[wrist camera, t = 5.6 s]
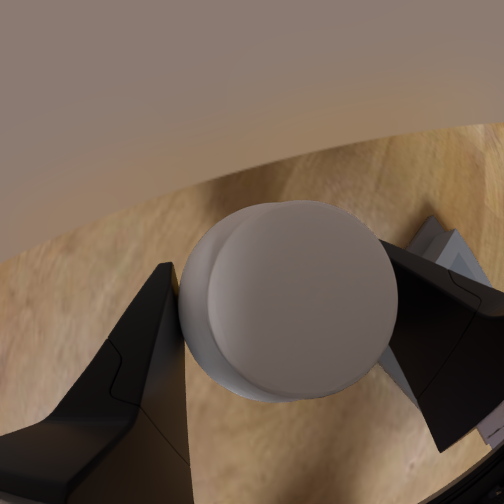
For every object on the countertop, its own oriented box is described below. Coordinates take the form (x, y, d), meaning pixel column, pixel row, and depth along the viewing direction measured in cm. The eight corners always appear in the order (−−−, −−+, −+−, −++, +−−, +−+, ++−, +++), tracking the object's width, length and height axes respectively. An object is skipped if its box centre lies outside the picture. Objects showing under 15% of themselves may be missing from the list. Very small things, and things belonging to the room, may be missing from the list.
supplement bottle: (171, 307, 15) (100, 298, 5) (245, 232, 16) (297, 116, 6) (250, 381, 15) (314, 480, 5) (320, 304, 16) (459, 285, 6)
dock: (425, 417, 22) (450, 426, 18) (343, 325, 23) (367, 326, 19) (490, 311, 25) (514, 310, 21) (427, 217, 26) (452, 205, 22)
